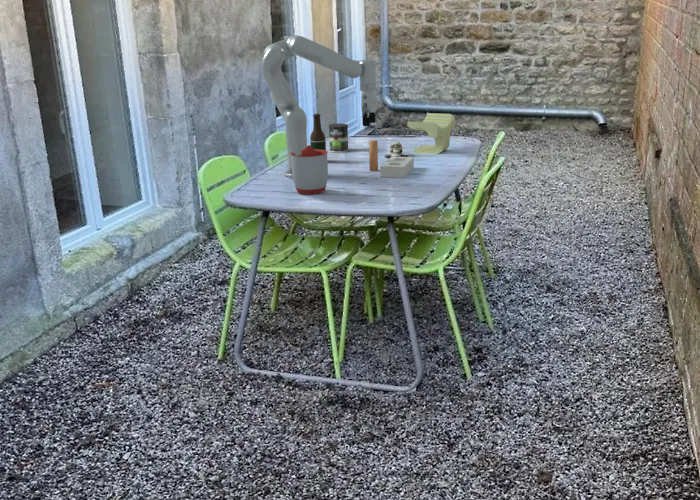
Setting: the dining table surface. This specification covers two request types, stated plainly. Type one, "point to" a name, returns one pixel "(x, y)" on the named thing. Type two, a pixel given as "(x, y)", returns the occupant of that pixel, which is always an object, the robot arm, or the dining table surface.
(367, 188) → the dining table surface
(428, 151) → the slatted curved stool
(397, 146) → the skull
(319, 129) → the beer bottle
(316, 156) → the citrus juicer
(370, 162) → the peg
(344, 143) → the coffee can
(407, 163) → the block
